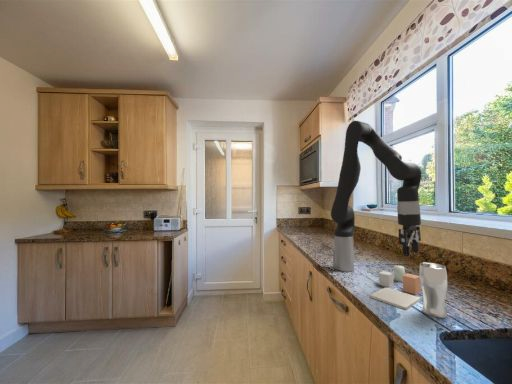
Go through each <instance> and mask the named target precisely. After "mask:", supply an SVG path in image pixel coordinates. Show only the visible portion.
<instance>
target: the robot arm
mask: <svg viewBox="0 0 512 384" xmlns="http://www.w3.org/2000/svg"><path fill="white" fill-rule="evenodd" d="M344 140H345V141H344V149H343V157H342V162H341V167H340V171H339V177H338V183H337V187H336V193H335V196H334V200H333V202H332V207H331V210H330V218H331V219H332V221H333V222H334V223H336V224H337V225H336V228H335V229H334V230H333V238H334V239H333V241H334V249H332V264H333V268H334V269H335V270H337V271H339V270H340V272H344V273H345V272H347V273H349V272H353V271H355V257H354V256H355V255H354V254H355V253H354V252H355V251H354V232H355V211H354V209H353V207H352V206H351V205H349V204H350V203H349V202H350V198H351V197H352V194H353V192H354V190H355V189H356V187H357V184H358V182H359V180H360V175H361V171H362V170H361V162H360V158H359V155H358V147H359V143H363V144H365V145H366V146H367V147H370V149H371V151H372V153H373V155H374V156H375V157H376V159H377V160H379V162H381V163H382V164H383V166H385V167H386V170H387V171H388V173H389V174H390V176H391V177H393V178H394V179H395V180H397V181H403V183H402V186H400V187H398V188H397V191H396V192H397V193H396V197H397V198H396V199H397V205H396V207H397V208H396V209H397V224H398V225H400V226H402V228H399V229H398V244H399V245H400V246H401V247H402V248H401V249H402V255H403V256H404V257H410V256H411V252H412V253H416V254H417V253H419V251H420V249H419V243H420V242H421V241H422V237H421V227H420V226H421V225H422V217H421V216H422V215H421V206H420V202H419V201H420V197H419V188H420V184H421V181H422V170H421V167H420V166H419V165H418V164H416V163H414V162H413V163H412V162H406V161H405V162H404V161H403V160H402V159H403V156H402V155H401V154H400V153H399V151H397V150H396V149H394V148H393V147H392V146H391V145H389V144H388V143H387V142H386V141H384V139H383V138H382V137H381V136H380V135H379V134H378V133H377V131H376V130H375V129H374V128H373V126H372V125H370V124H369V123H366V122H364V121H359V120H353V121H351V122H350V123H349V124H348V126H347V128H346V131H345V139H344ZM410 244H411V249H410Z"/></svg>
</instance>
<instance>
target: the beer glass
mask: <svg viewBox="0 0 512 384" xmlns="http://www.w3.org/2000/svg"><path fill="white" fill-rule="evenodd" d="M447 273H448V272H447V267H446V266H445V265H442V264H439V263H434V262H420V263H419V275H418V276H420V289H421V292H422V296H423V305H422V312H423V313H424V314H426V315H428V316H430V317H433V318H437V319H445V318H447V317H448V314H447V313H448V312H447V309H446V298H447V297H446V296H447V292H448V274H447Z"/></svg>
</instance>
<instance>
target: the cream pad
mask: <svg viewBox="0 0 512 384" xmlns="http://www.w3.org/2000/svg"><path fill="white" fill-rule="evenodd" d="M369 297H370V298H371V299H375V300H377V301H379V302H383V303H385V304H388V305H391V306H393V307H397V308H399V309H403V310H406V311H407V310H409V309H410V308H411V307H413V306H414V305H416V304H417V303H418V302H420V301H421V300H422V299H421V296H416V295H414V294H411V293H408V292H404V291H400V290H396V289H393V288H391V287H386V286H384V287H383V288H381V289H379V290H377V291H375V292H373V293H371V294H370V295H369Z"/></svg>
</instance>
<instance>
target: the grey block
mask: <svg viewBox="0 0 512 384" xmlns="http://www.w3.org/2000/svg"><path fill="white" fill-rule="evenodd" d="M394 281H395V280H394V272H390V271H386V270H382V271H380V272H378V285H379V286H382V287H386V288H391V287H393V286H394V285H395V284H394V283H395V282H394Z"/></svg>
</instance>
